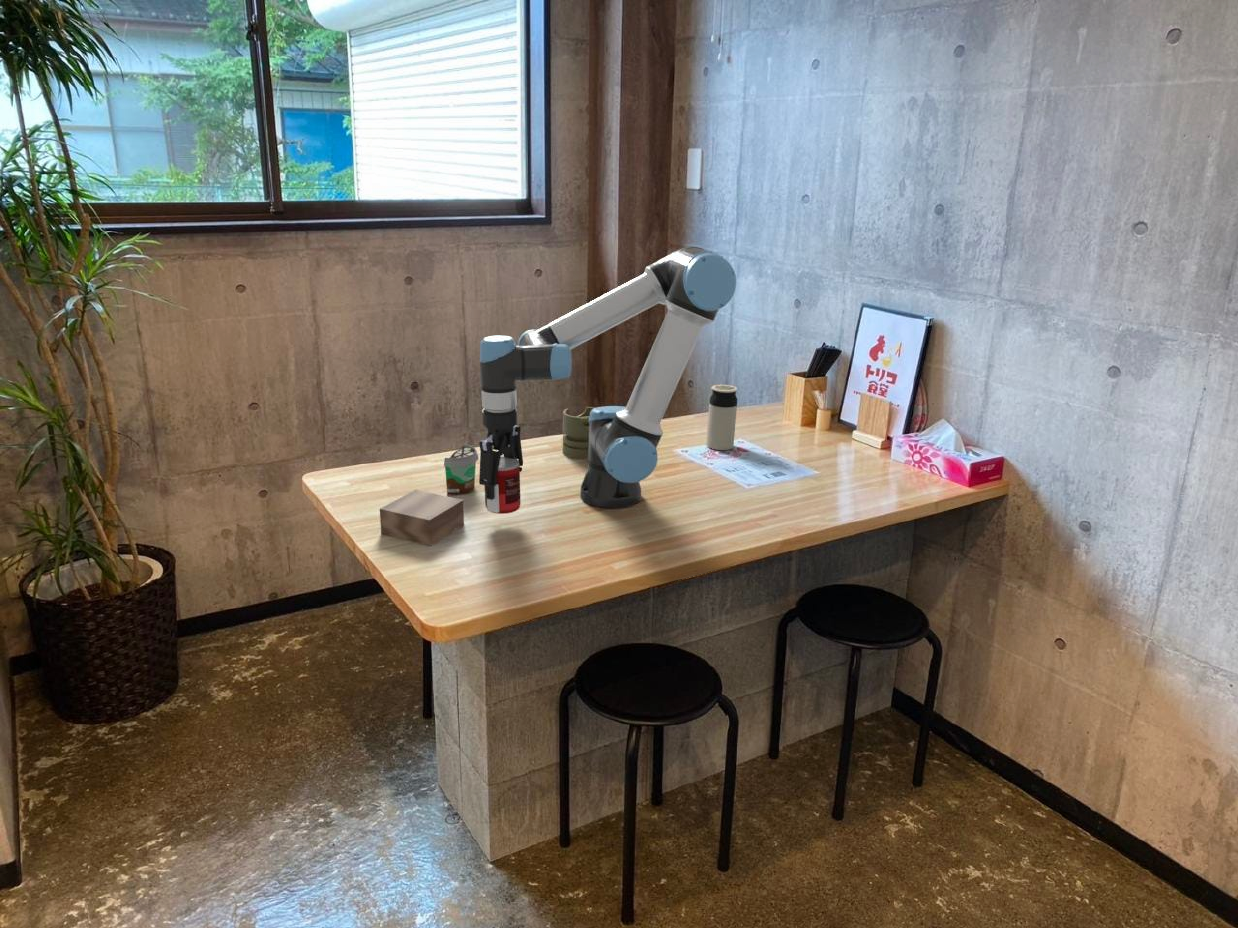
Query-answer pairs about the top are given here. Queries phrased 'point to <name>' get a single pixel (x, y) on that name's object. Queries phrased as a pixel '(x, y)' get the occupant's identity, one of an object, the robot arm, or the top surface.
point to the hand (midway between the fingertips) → (503, 504)
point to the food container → (461, 470)
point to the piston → (576, 434)
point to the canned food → (508, 485)
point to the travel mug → (722, 417)
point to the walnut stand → (422, 517)
